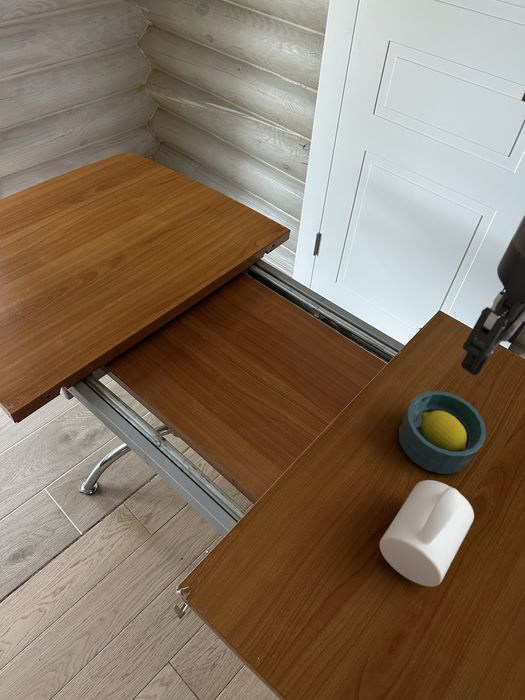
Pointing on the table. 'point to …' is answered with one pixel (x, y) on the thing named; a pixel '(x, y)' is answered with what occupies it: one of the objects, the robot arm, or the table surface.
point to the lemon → (443, 431)
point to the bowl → (426, 451)
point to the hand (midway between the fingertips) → (488, 353)
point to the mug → (427, 532)
